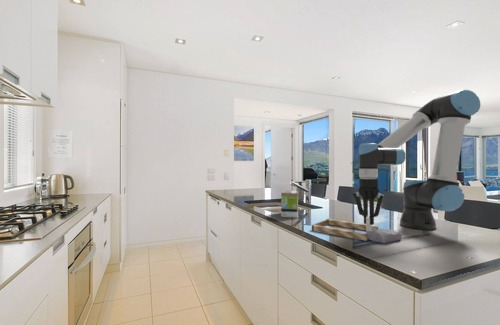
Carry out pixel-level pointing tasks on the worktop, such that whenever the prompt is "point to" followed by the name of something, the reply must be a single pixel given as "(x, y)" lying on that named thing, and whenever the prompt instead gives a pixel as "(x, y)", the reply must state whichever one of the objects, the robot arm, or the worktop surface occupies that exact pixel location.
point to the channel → (351, 234)
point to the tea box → (289, 204)
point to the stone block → (383, 235)
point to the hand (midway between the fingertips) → (368, 231)
